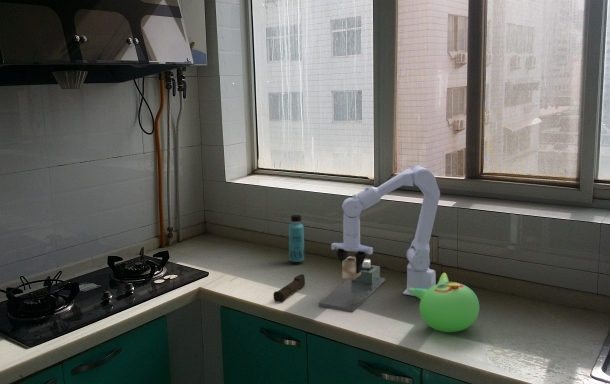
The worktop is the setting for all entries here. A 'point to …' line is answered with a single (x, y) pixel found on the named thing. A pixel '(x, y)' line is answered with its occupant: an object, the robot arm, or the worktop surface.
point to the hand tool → (290, 288)
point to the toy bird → (447, 305)
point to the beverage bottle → (296, 240)
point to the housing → (349, 268)
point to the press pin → (366, 265)
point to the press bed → (354, 291)
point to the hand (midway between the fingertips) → (351, 271)
